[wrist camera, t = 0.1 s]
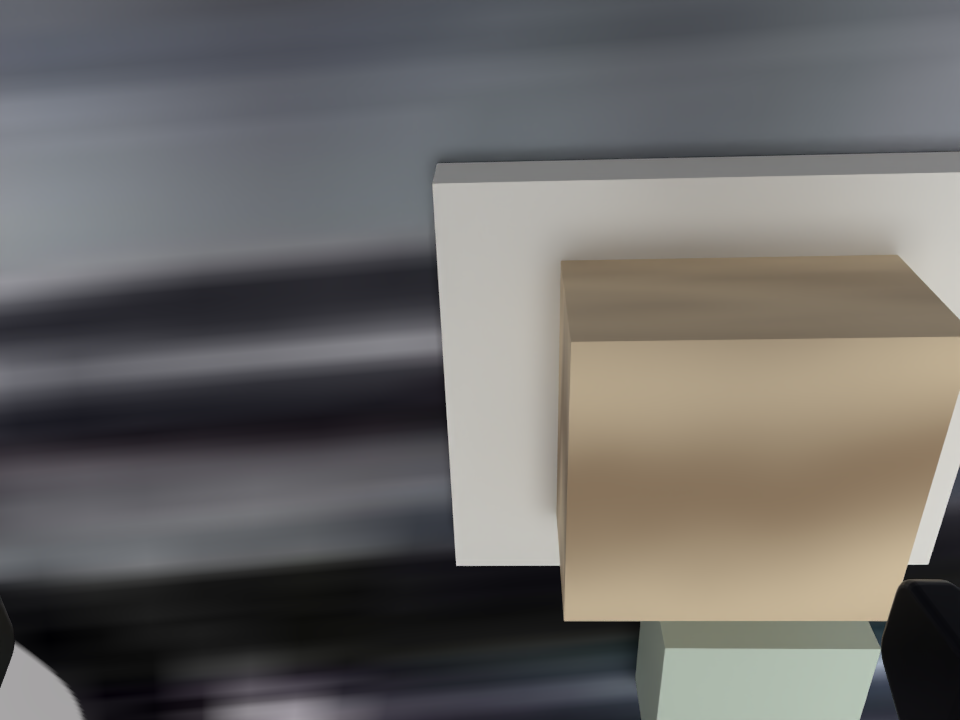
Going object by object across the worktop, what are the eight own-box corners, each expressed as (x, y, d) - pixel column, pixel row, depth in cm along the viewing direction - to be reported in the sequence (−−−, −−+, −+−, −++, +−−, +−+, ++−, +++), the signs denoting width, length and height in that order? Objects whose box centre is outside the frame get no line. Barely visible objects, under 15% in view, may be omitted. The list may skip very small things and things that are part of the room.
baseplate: (907, 530, 27) (927, 564, 25) (458, 532, 27) (456, 565, 26) (1018, 150, 21) (1052, 170, 19) (436, 163, 21) (432, 183, 20)
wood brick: (837, 512, 25) (890, 620, 21) (556, 514, 25) (563, 621, 21) (897, 254, 20) (975, 336, 17) (560, 260, 21) (571, 342, 17)
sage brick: (804, 675, 31) (841, 780, 27) (634, 674, 31) (650, 778, 27) (835, 549, 28) (880, 649, 24) (646, 549, 28) (665, 648, 24)
